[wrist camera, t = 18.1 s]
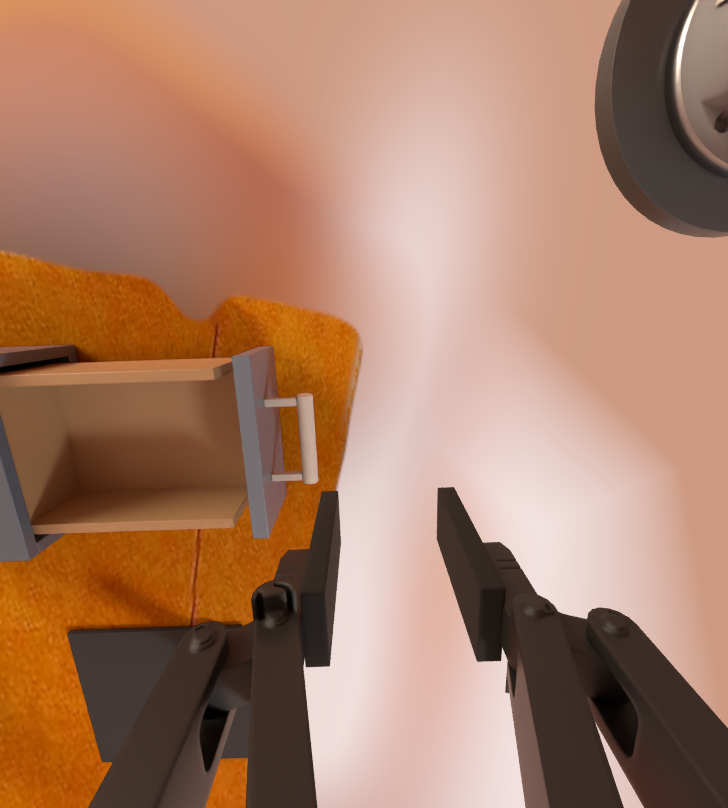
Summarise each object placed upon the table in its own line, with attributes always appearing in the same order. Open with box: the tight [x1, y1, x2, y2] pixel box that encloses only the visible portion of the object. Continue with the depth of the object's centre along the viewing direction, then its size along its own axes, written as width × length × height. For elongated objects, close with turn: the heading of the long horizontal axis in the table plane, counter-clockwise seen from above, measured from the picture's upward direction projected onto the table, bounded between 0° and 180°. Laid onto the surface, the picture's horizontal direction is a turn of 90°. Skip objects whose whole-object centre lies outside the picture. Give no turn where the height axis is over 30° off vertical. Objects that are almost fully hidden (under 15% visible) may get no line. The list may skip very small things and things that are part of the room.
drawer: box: [0, 346, 318, 539], centre depth 30 cm, size 22×14×7 cm, turn 92°
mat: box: [67, 625, 250, 762], centre depth 41 cm, size 18×18×1 cm
